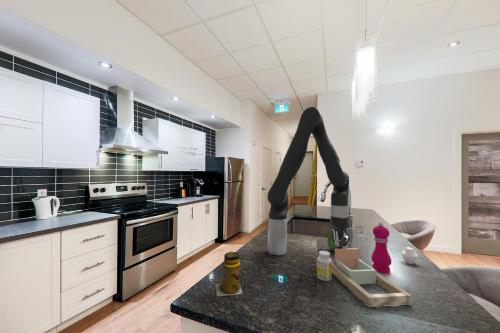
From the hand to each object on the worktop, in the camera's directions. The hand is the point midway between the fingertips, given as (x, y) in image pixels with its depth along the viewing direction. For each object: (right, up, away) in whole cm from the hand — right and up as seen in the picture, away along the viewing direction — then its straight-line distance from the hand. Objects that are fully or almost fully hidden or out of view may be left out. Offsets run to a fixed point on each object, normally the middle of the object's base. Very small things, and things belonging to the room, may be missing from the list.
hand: (339, 254), depth 92 cm
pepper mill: (+15, -5, -5) cm, 17 cm away
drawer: (+1, -4, -11) cm, 12 cm away
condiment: (-47, -4, -21) cm, 52 cm away
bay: (+2, -4, -16) cm, 17 cm away
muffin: (+34, -5, +3) cm, 34 cm away
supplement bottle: (-11, -4, -12) cm, 17 cm away
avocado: (+5, -5, +17) cm, 19 cm away
